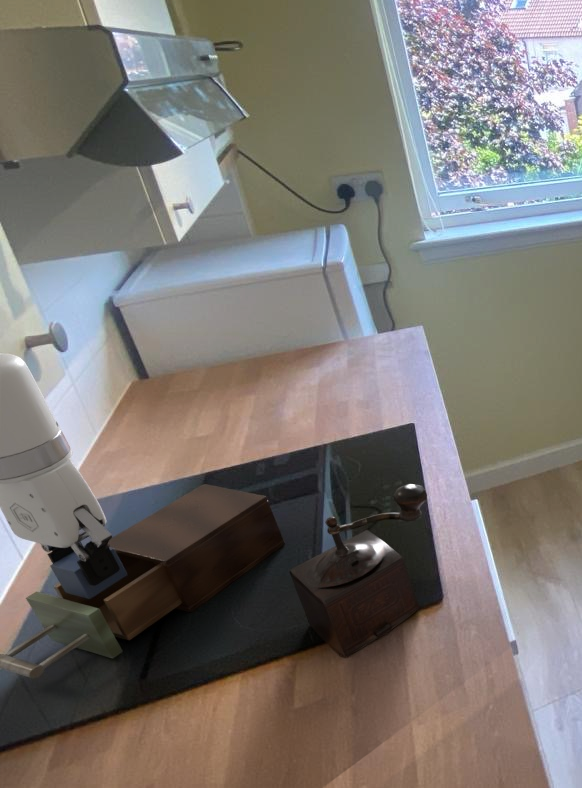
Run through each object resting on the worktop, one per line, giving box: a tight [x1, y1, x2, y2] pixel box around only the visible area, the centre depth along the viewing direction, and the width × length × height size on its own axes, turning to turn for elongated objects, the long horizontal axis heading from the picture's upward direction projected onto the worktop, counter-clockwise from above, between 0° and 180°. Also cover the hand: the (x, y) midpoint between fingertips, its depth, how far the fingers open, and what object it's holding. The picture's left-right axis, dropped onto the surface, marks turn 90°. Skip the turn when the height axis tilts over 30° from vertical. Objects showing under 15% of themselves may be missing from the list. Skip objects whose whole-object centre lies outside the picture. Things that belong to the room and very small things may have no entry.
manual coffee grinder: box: [289, 483, 428, 658], centre depth 97 cm, size 16×11×18 cm
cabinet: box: [108, 483, 286, 614], centre depth 107 cm, size 15×13×9 cm
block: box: [49, 544, 128, 599], centre depth 94 cm, size 4×4×4 cm
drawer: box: [0, 553, 182, 679], centre depth 96 cm, size 20×11×7 cm, turn 164°
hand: (90, 572), depth 94 cm, fingers closed on block, 4 cm apart
